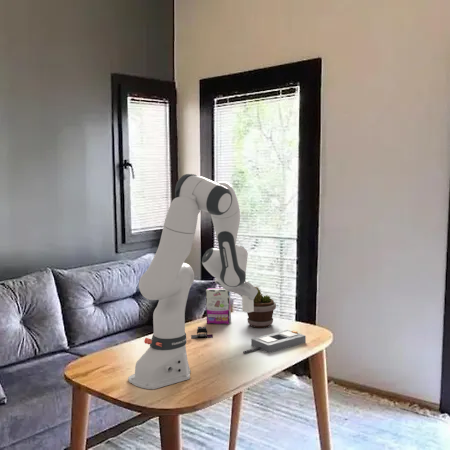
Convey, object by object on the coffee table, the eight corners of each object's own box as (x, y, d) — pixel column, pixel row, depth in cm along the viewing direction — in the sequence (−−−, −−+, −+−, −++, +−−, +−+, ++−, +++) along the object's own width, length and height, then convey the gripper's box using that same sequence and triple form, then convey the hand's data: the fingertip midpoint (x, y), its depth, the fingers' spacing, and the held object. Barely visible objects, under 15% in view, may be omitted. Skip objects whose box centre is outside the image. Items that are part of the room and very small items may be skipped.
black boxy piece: (216, 335, 233) (215, 324, 233) (216, 340, 226) (216, 329, 226) (188, 335, 233) (187, 325, 232) (187, 341, 225) (187, 330, 225)
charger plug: (248, 312, 225) (247, 294, 224) (242, 310, 228) (242, 292, 227) (253, 311, 226) (253, 293, 226) (248, 309, 230) (247, 291, 229)
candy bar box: (231, 321, 252) (230, 288, 250) (229, 324, 247) (229, 290, 246) (208, 321, 254) (207, 287, 252) (206, 323, 249) (205, 289, 247)
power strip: (252, 357, 202) (252, 348, 202) (234, 350, 211) (234, 341, 210) (305, 342, 219) (305, 333, 218) (287, 336, 227) (287, 328, 227)
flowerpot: (259, 319, 256) (258, 278, 254) (283, 325, 244) (282, 282, 242) (237, 325, 246) (237, 283, 244) (261, 332, 235) (260, 287, 233)
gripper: (249, 275, 213) (268, 295, 220) (220, 269, 230) (238, 288, 236) (240, 288, 211) (260, 308, 217) (212, 280, 228) (231, 299, 234)
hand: (248, 297), depth 227 cm, fingers closed on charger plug, 4 cm apart
